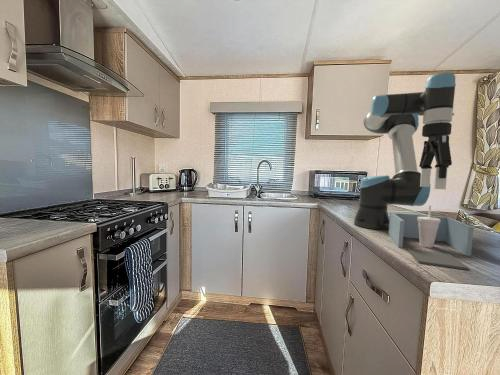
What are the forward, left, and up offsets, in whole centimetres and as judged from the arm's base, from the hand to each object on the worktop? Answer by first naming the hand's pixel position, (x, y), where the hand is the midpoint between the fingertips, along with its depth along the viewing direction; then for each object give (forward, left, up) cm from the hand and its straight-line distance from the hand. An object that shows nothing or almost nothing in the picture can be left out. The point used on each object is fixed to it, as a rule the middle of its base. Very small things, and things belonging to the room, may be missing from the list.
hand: (431, 187), depth 78 cm
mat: (+14, -2, -20) cm, 24 cm away
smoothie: (0, 0, -20) cm, 20 cm away
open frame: (-3, 0, -20) cm, 20 cm away
